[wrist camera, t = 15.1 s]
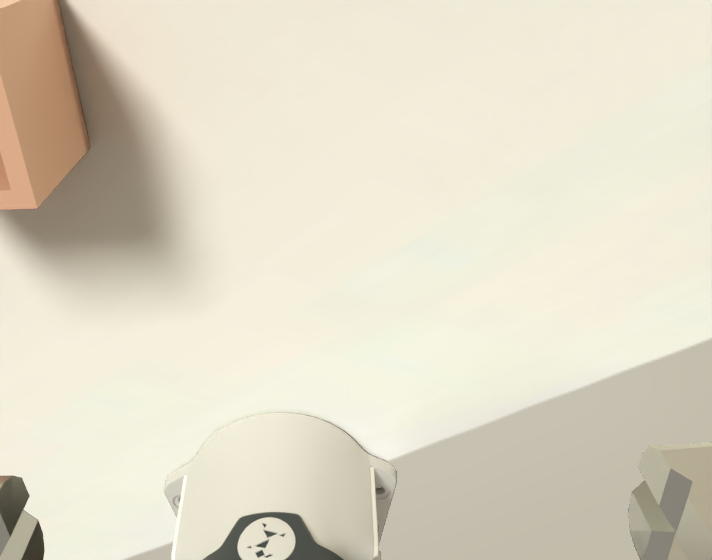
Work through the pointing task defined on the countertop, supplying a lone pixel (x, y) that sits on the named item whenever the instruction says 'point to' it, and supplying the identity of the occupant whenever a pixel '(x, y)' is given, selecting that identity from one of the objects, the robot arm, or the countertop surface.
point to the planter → (36, 104)
